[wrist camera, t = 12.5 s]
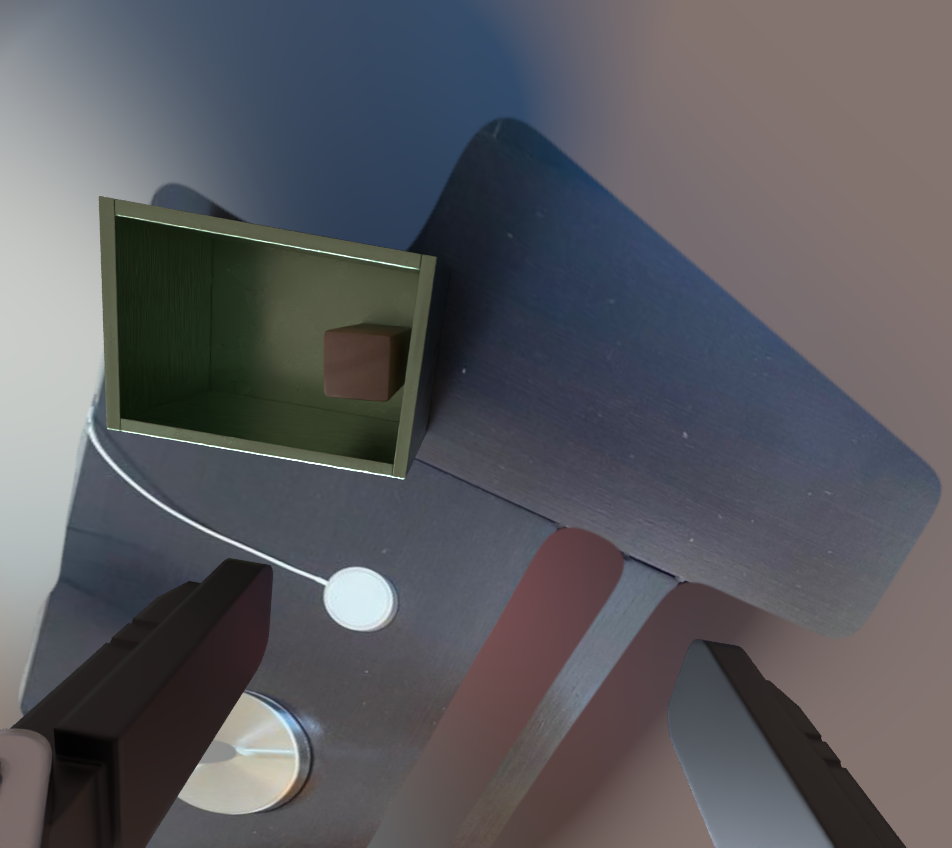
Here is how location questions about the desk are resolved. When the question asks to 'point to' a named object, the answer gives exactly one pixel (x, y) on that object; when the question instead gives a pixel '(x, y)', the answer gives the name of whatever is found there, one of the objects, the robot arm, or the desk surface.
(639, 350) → the desk surface
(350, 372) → the wooden block
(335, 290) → the waste bin
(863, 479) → the desk surface
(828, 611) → the desk surface
